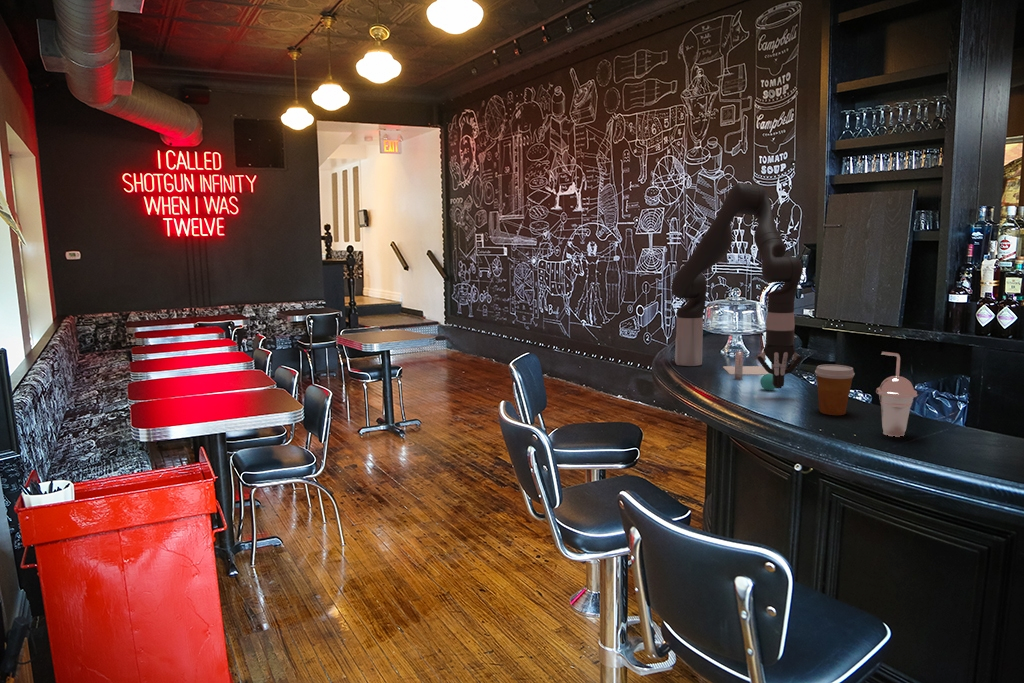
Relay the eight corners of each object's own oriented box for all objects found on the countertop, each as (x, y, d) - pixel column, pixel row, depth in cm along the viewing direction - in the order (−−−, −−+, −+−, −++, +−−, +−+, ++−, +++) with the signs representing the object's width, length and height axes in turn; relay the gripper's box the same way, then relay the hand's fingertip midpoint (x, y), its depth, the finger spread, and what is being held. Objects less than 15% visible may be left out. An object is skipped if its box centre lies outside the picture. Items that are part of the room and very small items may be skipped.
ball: (762, 391, 210) (762, 375, 209) (758, 388, 215) (758, 372, 214) (779, 392, 209) (780, 375, 208) (775, 388, 214) (775, 372, 213)
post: (735, 379, 227) (736, 352, 226) (733, 378, 230) (734, 351, 228) (743, 379, 227) (743, 352, 226) (741, 378, 229) (742, 351, 228)
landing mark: (730, 374, 235) (730, 374, 235) (722, 366, 249) (722, 366, 249) (773, 374, 234) (773, 374, 234) (763, 366, 247) (763, 366, 247)
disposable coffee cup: (804, 410, 188) (806, 366, 186) (831, 406, 191) (833, 363, 190) (833, 418, 179) (836, 372, 177) (860, 414, 183) (863, 368, 181)
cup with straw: (920, 440, 160) (926, 353, 157) (877, 438, 161) (883, 352, 158) (906, 429, 168) (912, 347, 165) (866, 428, 170) (870, 346, 167)
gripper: (800, 326, 202) (798, 385, 205) (753, 326, 204) (751, 385, 206) (808, 329, 195) (805, 390, 198) (759, 329, 196) (757, 390, 199)
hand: (777, 387), depth 202 cm, fingers closed
